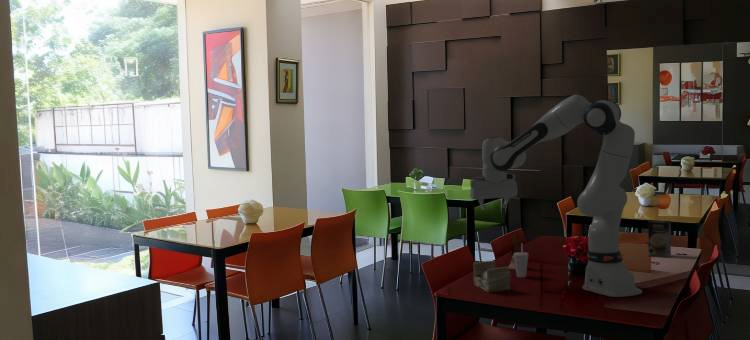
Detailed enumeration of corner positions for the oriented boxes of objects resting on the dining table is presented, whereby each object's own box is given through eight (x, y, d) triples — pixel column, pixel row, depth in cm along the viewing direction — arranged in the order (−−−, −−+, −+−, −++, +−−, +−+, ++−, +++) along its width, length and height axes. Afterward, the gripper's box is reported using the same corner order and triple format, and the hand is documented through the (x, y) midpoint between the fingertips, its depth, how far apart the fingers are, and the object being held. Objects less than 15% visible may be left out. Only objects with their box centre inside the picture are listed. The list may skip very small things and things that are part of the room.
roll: (502, 286, 256) (502, 274, 256) (491, 288, 255) (490, 275, 255) (492, 281, 265) (491, 269, 265) (480, 282, 264) (480, 270, 264)
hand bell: (522, 270, 286) (521, 234, 285) (504, 268, 291) (503, 233, 290) (530, 267, 293) (529, 231, 292) (512, 265, 298) (511, 230, 297)
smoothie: (529, 278, 272) (528, 244, 271) (513, 278, 273) (512, 245, 272) (529, 274, 278) (528, 242, 277) (513, 274, 280) (512, 242, 279)
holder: (510, 290, 255) (509, 267, 254) (488, 292, 252) (488, 269, 252) (494, 282, 268) (493, 260, 268) (473, 284, 266) (473, 262, 265)
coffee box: (647, 256, 303) (647, 222, 302) (650, 253, 309) (649, 219, 307) (669, 257, 298) (668, 222, 297) (671, 255, 304) (670, 220, 302)
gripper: (473, 178, 267) (474, 211, 268) (518, 174, 273) (519, 207, 274) (467, 177, 273) (468, 209, 274) (511, 173, 279) (512, 206, 280)
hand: (494, 208), depth 274 cm, fingers open, 8 cm apart
